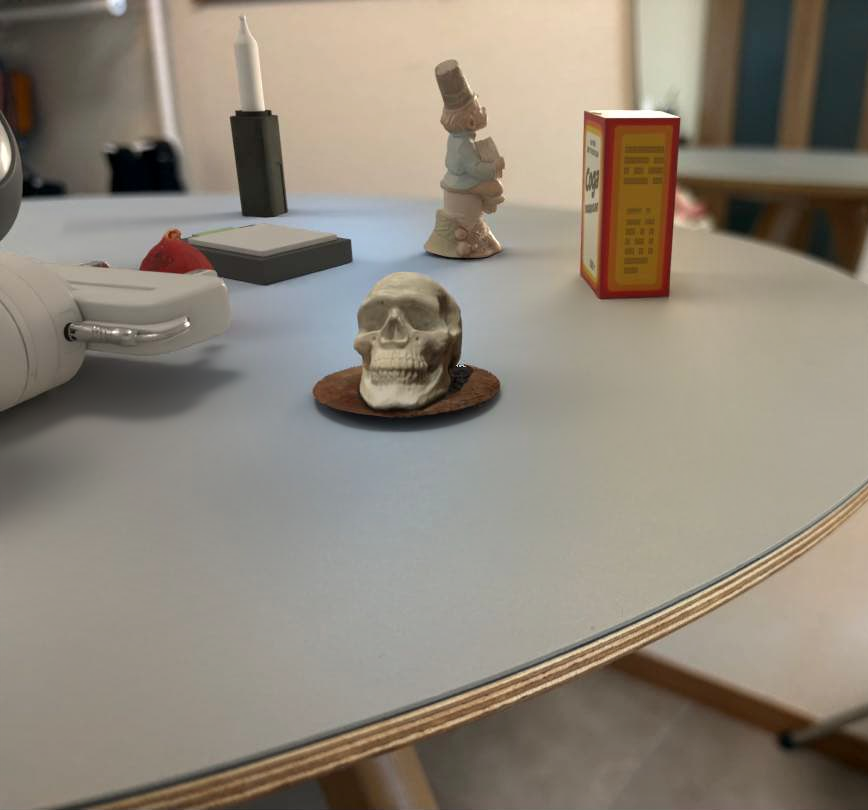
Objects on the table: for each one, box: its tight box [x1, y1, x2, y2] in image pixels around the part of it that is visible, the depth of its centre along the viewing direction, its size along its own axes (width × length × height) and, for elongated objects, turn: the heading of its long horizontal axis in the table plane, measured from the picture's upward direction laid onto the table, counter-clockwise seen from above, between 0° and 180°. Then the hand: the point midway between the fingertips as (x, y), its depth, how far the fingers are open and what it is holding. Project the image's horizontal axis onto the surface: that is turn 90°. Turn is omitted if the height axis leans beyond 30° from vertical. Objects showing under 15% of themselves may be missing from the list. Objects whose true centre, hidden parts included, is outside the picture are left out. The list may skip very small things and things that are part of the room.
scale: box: [181, 222, 354, 286], centre depth 89 cm, size 15×12×3 cm
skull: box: [312, 271, 501, 419], centre depth 55 cm, size 12×10×10 cm
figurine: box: [422, 58, 507, 259], centre depth 91 cm, size 9×8×20 cm
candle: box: [229, 13, 289, 218], centre depth 112 cm, size 5×5×25 cm
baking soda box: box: [579, 109, 682, 300], centre depth 79 cm, size 10×6×16 cm
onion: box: [138, 227, 214, 274], centre depth 67 cm, size 6×6×8 cm
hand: (155, 275), depth 64 cm, fingers open, 8 cm apart
